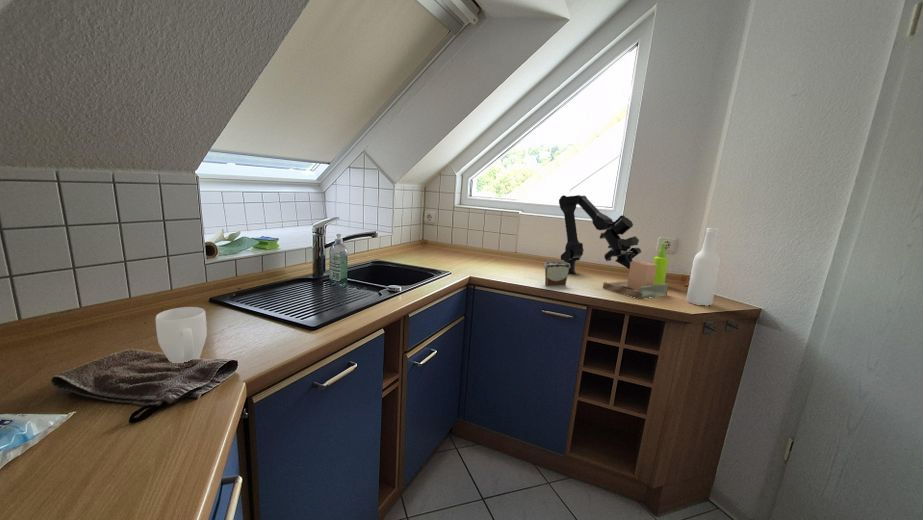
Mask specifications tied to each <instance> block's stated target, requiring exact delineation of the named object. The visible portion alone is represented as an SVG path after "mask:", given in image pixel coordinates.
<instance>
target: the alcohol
mask: <svg viewBox="0 0 923 520" xmlns="http://www.w3.org/2000/svg"><path fill="white" fill-rule="evenodd" d="M719 230H720V229H719V228H714V227H707V228H706V231H705V237H704V240H703V243H702V248H700V251H699V252H698V253H696V254H695V256H694V258H693V262H692V265H691V266H692V267H691V272H690V277H689V282H688V287H687V288H688V289H687V293H686V301H687V303H689V302H690V303H689V304H691V303H694V304H700V305H710V306H712V304H713V302H714V298H715V297H714V296H715V292H716V288H717V287H716V286H717V281H718V276H719V270H720V265H721V258H720V256H719V254H718V253H717V244H718V236H719ZM694 304H693V305H694Z"/></svg>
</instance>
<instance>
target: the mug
mask: <svg viewBox="0 0 923 520" xmlns="http://www.w3.org/2000/svg"><path fill="white" fill-rule="evenodd" d="M206 316H207V315H206V310H205V309H204V308H202V307H196V306H186V307H185V306H184V307H176V308H170V309H167V310H164V311H161V312H159V313H157V314H156V316H155V328H156V337H157V342H158V345H159V347H160V349H161V351H162V352H163V354H164V355H165V357H166V358H167V360H168V361H170V362H172V363H184V362H188V361H190V360H192V359H199V360H200V358H201V355H202V351H203V349H204V348H205V347H204V346H205V343H206V340H207V335H208V332H207V331H208V328H207V327H208V326H207V317H206ZM170 362H169V363H170Z"/></svg>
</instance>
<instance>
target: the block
mask: <svg viewBox="0 0 923 520" xmlns="http://www.w3.org/2000/svg"><path fill="white" fill-rule="evenodd" d="M656 267H657V265H656V264H653V263H650V262H647V261H641V260H635V261H634V260H632V262H631V263H630V269H628V270H629V271H628V275H627V281H628V283H627V287H630V288H634V289H637V290H640V289H641V287H643V286H649V285H654V279H655V273H656Z"/></svg>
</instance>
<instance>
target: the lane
mask: <svg viewBox="0 0 923 520" xmlns="http://www.w3.org/2000/svg"><path fill="white" fill-rule="evenodd" d="M627 283H628V280H622V281H614V282H605V281H604V282H603V285H602V289H605V290H607V289H608V290H607V291H611V292H614V291H615V293H617V292H618V294H620V293H621V295H623V294H625V295H624V296H627V295H628V296H627V297H630V296H632V297H631V298H633V297H635V298H634V299H636V298H638V299H637V300H639V299H642V300H645V299H644V298H648V299H650V298H649V297H653V298H656V297H655V296H659V297H663V296H662V295H665V296H668V291H669V289H668V283H665V282H664V283H663V284H656V285H649V286H643V287H641V289H640V290H637V289H634V288H630V287H627Z"/></svg>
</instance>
